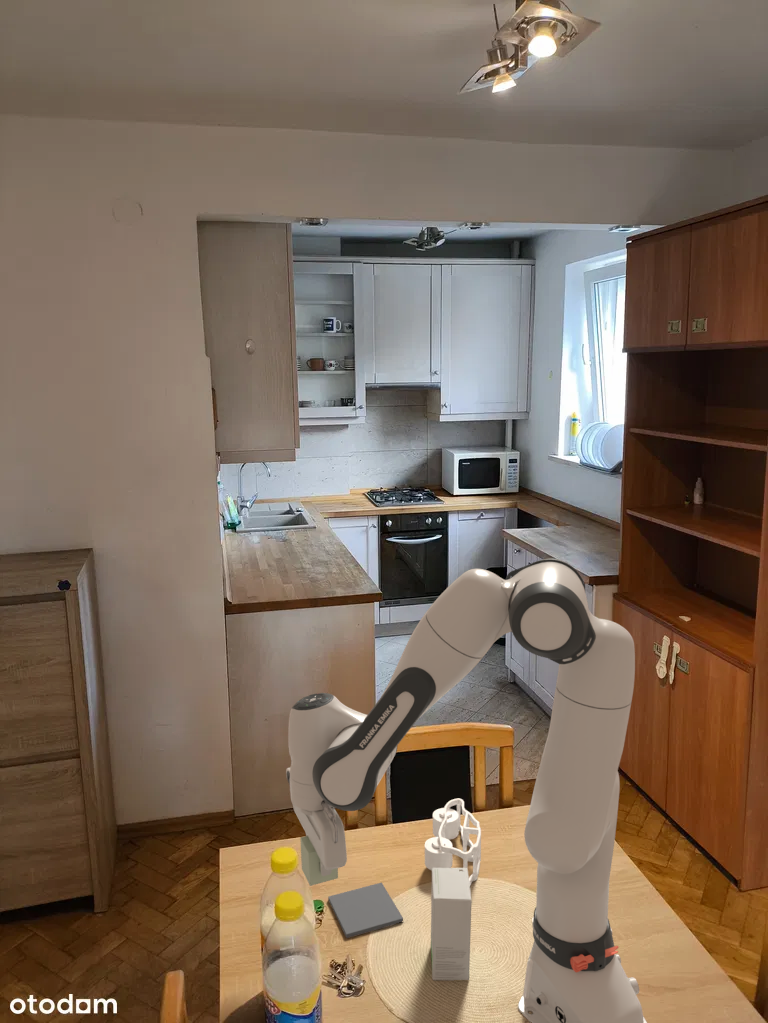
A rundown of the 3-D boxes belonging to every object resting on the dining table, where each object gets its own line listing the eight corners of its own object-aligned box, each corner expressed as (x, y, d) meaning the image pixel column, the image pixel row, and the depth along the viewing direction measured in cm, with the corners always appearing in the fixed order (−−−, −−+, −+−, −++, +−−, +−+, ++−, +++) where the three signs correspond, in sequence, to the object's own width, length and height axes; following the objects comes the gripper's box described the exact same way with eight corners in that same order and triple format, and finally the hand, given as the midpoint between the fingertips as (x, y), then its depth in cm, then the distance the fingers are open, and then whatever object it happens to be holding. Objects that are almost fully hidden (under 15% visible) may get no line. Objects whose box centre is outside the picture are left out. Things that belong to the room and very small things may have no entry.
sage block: (338, 878, 130) (336, 846, 129) (309, 885, 128) (308, 853, 127) (329, 861, 135) (327, 830, 134) (301, 868, 133) (300, 837, 132)
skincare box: (430, 945, 134) (430, 865, 132) (468, 946, 134) (468, 865, 132) (432, 982, 126) (431, 897, 124) (472, 983, 126) (472, 898, 123)
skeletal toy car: (435, 826, 171) (435, 796, 170) (485, 831, 168) (485, 800, 167) (421, 883, 152) (421, 849, 150) (477, 889, 149) (477, 855, 148)
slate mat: (403, 921, 140) (403, 918, 140) (346, 938, 136) (346, 934, 136) (381, 886, 150) (381, 882, 150) (328, 900, 147) (328, 896, 146)
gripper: (355, 814, 121) (357, 893, 123) (316, 757, 139) (319, 827, 142) (316, 824, 118) (320, 904, 121) (283, 765, 137) (286, 835, 139)
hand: (319, 862), depth 131 cm, fingers closed on sage block, 5 cm apart
